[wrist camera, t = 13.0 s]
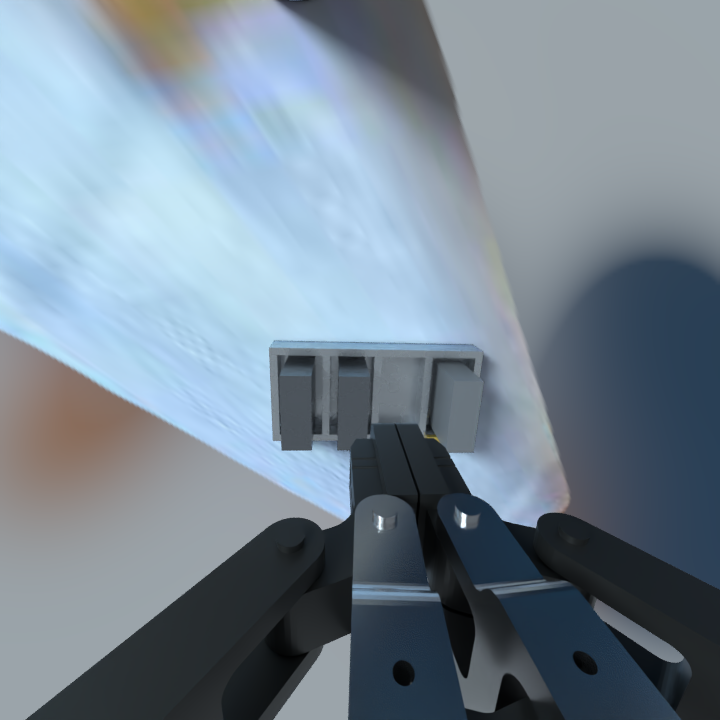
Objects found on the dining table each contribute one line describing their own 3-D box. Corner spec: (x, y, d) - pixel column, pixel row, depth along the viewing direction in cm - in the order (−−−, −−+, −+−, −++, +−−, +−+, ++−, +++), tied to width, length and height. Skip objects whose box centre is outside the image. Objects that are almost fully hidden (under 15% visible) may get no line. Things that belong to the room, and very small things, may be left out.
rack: (277, 427, 42) (265, 463, 35) (274, 340, 39) (260, 360, 32) (461, 428, 44) (486, 462, 37) (472, 344, 41) (502, 363, 34)
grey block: (434, 360, 41) (454, 381, 34) (459, 360, 41) (484, 381, 34) (428, 422, 43) (445, 452, 36) (452, 422, 43) (473, 452, 36)
